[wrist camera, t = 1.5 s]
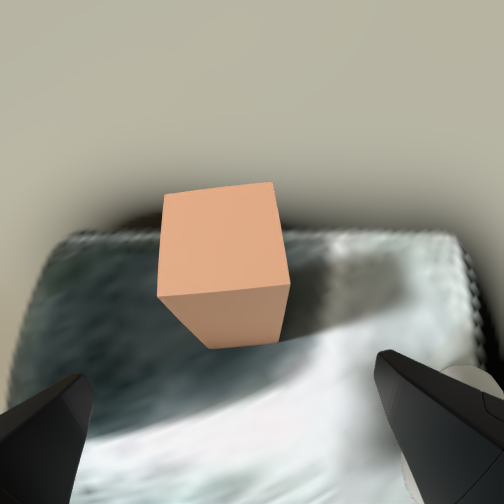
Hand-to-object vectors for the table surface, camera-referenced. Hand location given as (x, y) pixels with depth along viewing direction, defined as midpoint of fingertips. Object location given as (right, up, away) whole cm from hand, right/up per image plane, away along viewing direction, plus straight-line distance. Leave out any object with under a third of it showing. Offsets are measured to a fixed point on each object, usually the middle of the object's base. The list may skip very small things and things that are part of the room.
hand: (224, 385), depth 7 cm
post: (0, -1, +14) cm, 14 cm away
